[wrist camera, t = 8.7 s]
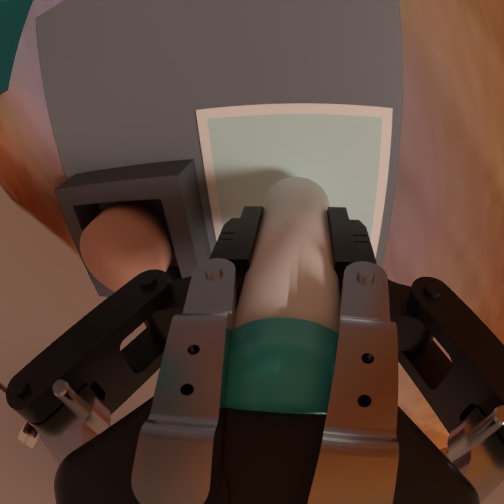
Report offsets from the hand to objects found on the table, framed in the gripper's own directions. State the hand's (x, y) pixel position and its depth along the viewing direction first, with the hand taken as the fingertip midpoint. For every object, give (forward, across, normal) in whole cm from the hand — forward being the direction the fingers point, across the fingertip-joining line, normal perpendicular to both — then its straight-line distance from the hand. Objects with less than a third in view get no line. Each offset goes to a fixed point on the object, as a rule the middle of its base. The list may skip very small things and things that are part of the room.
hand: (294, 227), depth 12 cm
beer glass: (+4, +89, +80) cm, 119 cm away
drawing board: (+4, +4, -3) cm, 7 cm away
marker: (+2, 0, 0) cm, 2 cm away
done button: (+2, +9, +2) cm, 9 cm away
